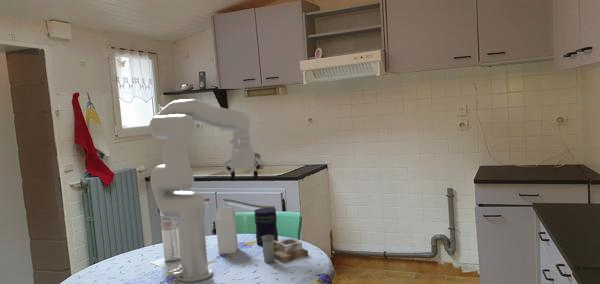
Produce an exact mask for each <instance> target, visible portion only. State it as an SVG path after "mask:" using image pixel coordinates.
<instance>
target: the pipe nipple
mask: <svg viewBox="0 0 600 284" xmlns="http://www.w3.org/2000/svg"><path fill="white" fill-rule="evenodd" d="M273 240H274V237H273V235H264V236H262V241H263V246H262V251H263V250H264V253H263V261H264V263H265V264H273V263H274V262H275V260H276V259H274V247H273Z"/></svg>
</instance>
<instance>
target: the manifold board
mask: <svg viewBox="0 0 600 284" xmlns="http://www.w3.org/2000/svg"><path fill="white" fill-rule="evenodd" d="M273 247H274V260H276V261H277V262H280V263H281V264H283V263H287V262H290V261H293V260H297V259H301V258H305V257H307V256H309V251H308V249H305V248H303V241H301V240H299V239H295V238H293V237H290V238H286V239H282V240H278V241H276V240H273ZM262 253H263V254H264V250H263V249H262Z"/></svg>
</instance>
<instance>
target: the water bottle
mask: <svg viewBox="0 0 600 284" xmlns="http://www.w3.org/2000/svg"><path fill="white" fill-rule="evenodd" d="M159 215H160V223H161V224H160V225H161V236H162V247H163V258H164V261H166V262H167V261H173V262H177V261H179V260H181V258H180V248H179V237H178V228H179V219H178V217H168V216H164V215H163V214H162V213H161V212H160V211H159ZM176 260H177V261H176Z"/></svg>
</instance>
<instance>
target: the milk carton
mask: <svg viewBox="0 0 600 284" xmlns="http://www.w3.org/2000/svg"><path fill="white" fill-rule="evenodd" d="M236 220H237V219H236V213H235V210H234V207H233V206H231V207H230V206H228V207H218V208H217V207H216V216H215V225H216V236H217V238H216V239H217V249H218V255H222V254H225V255H226V254H236V253H237V250H238V248H239V245H238V241H239V240H238V233H237V229H238V228H237V221H236Z"/></svg>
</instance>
